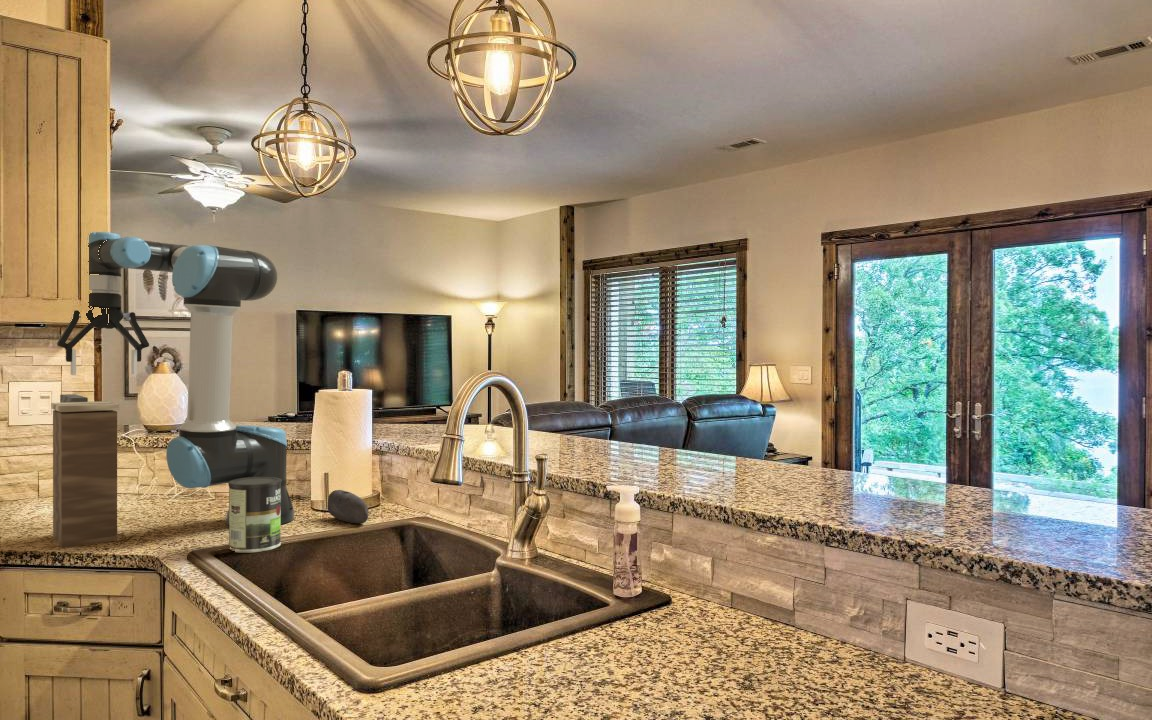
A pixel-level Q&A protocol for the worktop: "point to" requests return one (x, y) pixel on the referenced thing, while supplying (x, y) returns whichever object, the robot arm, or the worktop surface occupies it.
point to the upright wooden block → (84, 477)
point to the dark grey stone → (347, 507)
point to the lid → (81, 404)
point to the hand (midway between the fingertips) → (104, 374)
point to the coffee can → (254, 514)
